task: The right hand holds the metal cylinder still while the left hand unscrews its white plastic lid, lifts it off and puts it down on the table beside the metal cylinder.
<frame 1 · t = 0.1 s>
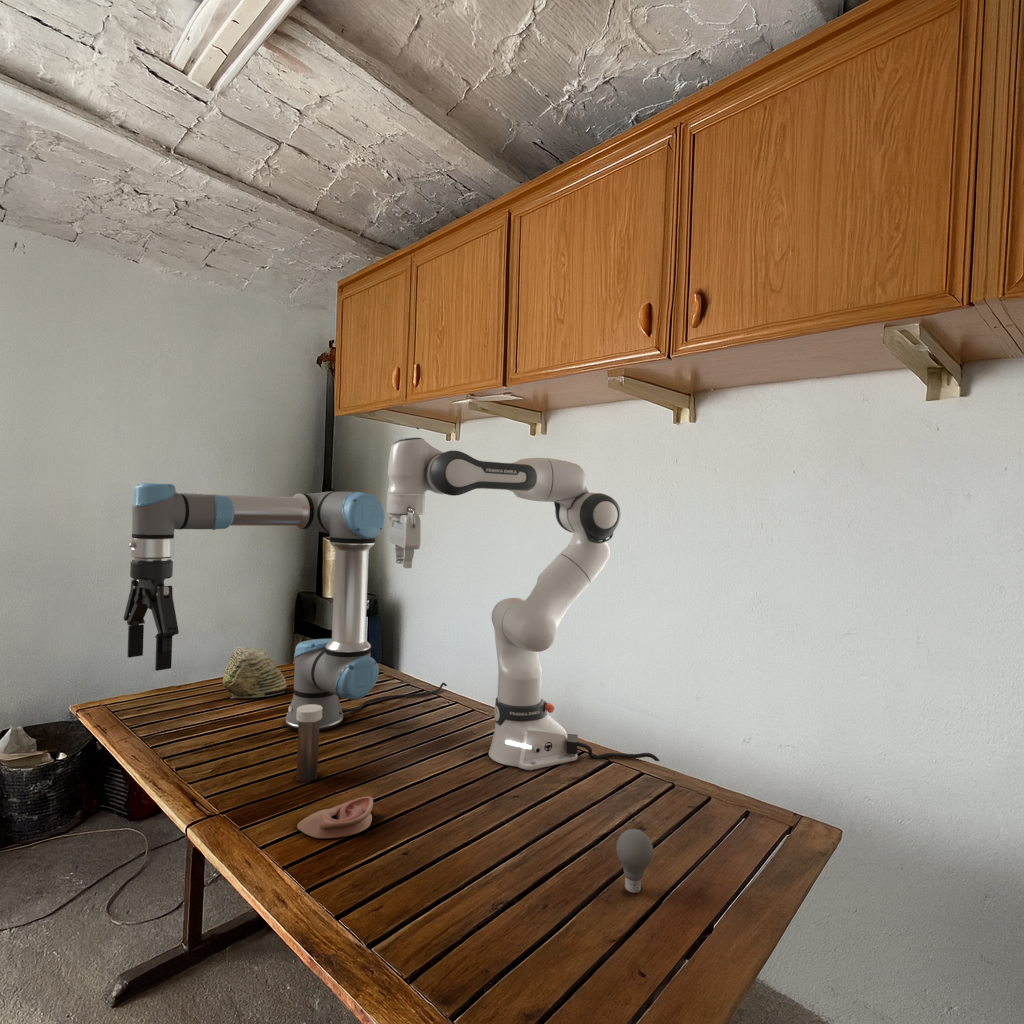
left hand: (148, 662, 129), 28 cm above the table, tool pointing down, fingers open, 13 cm apart
right hand: (403, 565, 148), 48 cm above the table, tool pointing down, fingers open, 8 cm apart
lid: (309, 709, 142), point 15 cm above the table, screwed on, not yet turned
metal cylinder: (307, 777, 142), on the table
light bulb: (632, 891, 106), on the table
fossil: (254, 694, 198), on the table
anatomical model: (335, 825, 123), on the table
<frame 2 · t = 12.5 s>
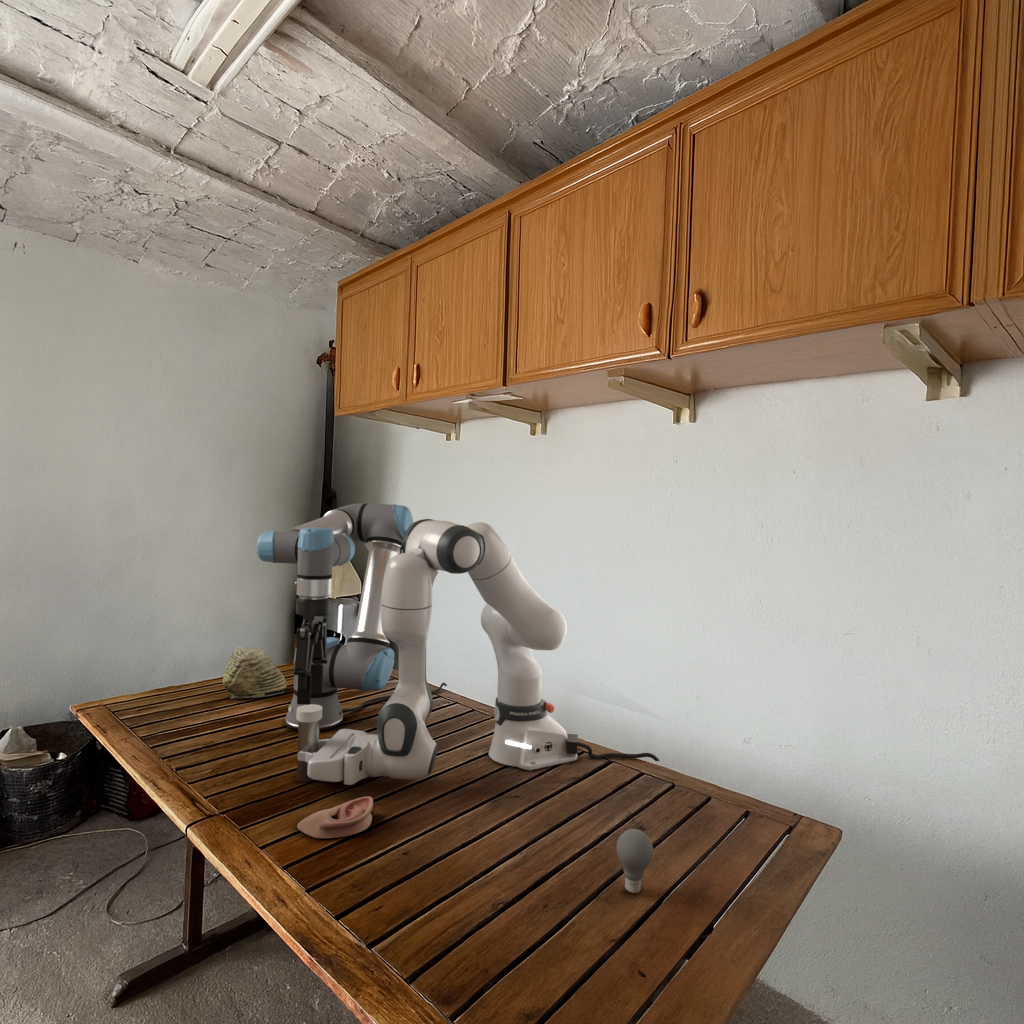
left hand: (310, 698, 142), 18 cm above the table, tool pointing down, fingers open, 7 cm apart
right hand: (304, 749, 142), 6 cm above the table, tool horizontal, fingers closed on metal cylinder, 4 cm apart
metal cylinder: (307, 777, 142), on the table, touching right hand
everything else where it was.
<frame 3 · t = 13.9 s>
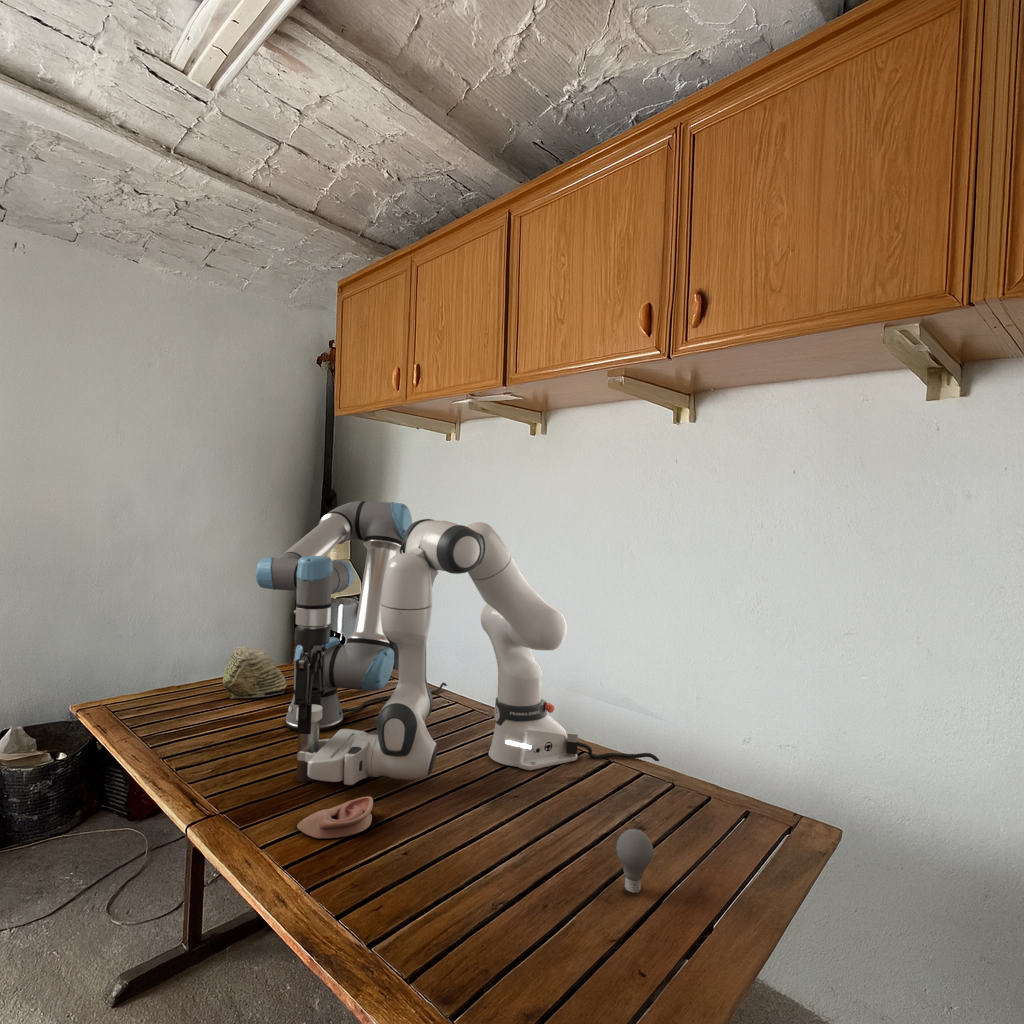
left hand: (308, 728, 142), 11 cm above the table, tool pointing down, fingers closed on lid, 5 cm apart
right hand: (304, 749, 142), 6 cm above the table, tool horizontal, fingers closed on metal cylinder, 4 cm apart
lid: (309, 709, 142), point 15 cm above the table, screwed on, not yet turned, touching left hand
metal cylinder: (307, 777, 142), on the table, touching right hand
everything else where it was.
when the left hand's fingers open (11 cm above the table, at t = 15.4 s): lid stays where it is, point 16 cm above the table.
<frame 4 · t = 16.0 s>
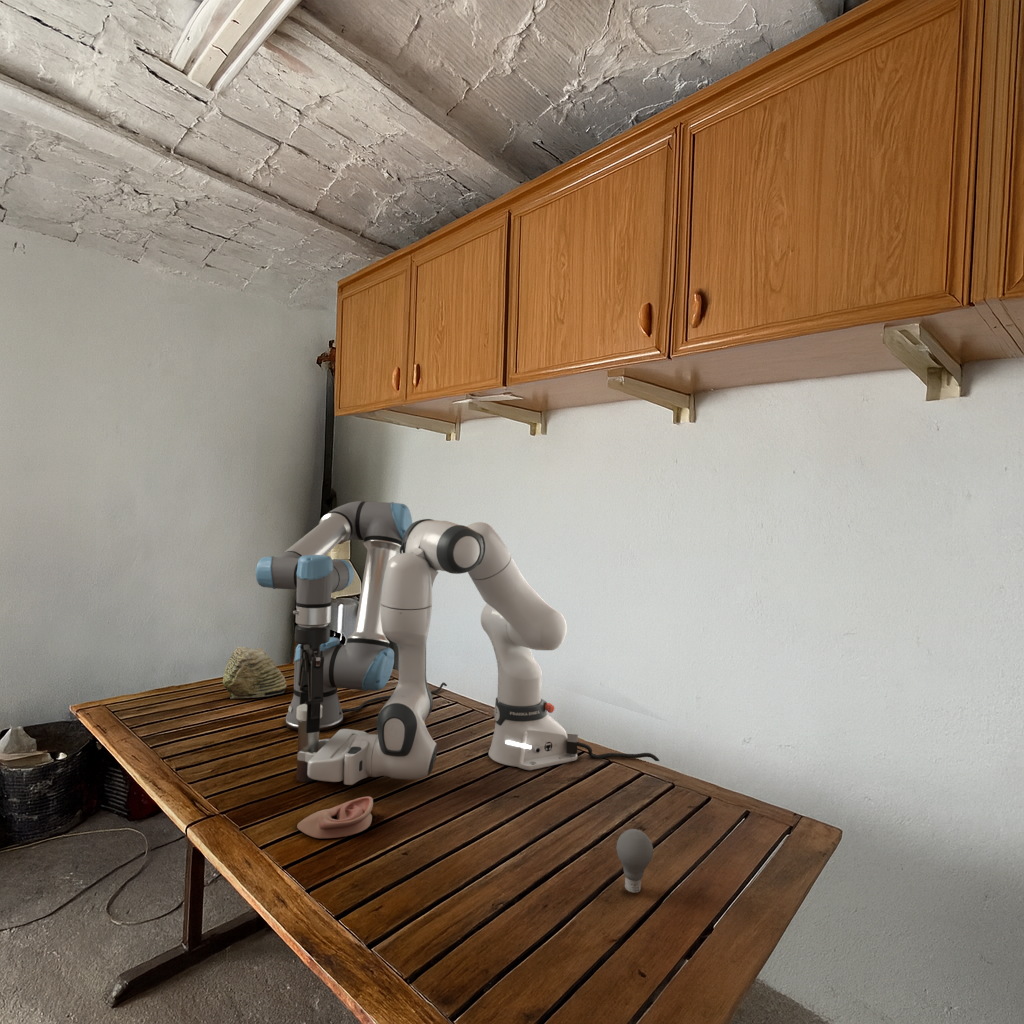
left hand: (308, 725, 142), 12 cm above the table, tool pointing down, fingers open, 7 cm apart
right hand: (304, 749, 142), 6 cm above the table, tool horizontal, fingers closed on metal cylinder, 4 cm apart
lid: (309, 708, 142), point 16 cm above the table, turned 90° so far, risen 0.3 cm, still on its thread
metal cylinder: (306, 777, 142), on the table, touching right hand
everything else where it was.
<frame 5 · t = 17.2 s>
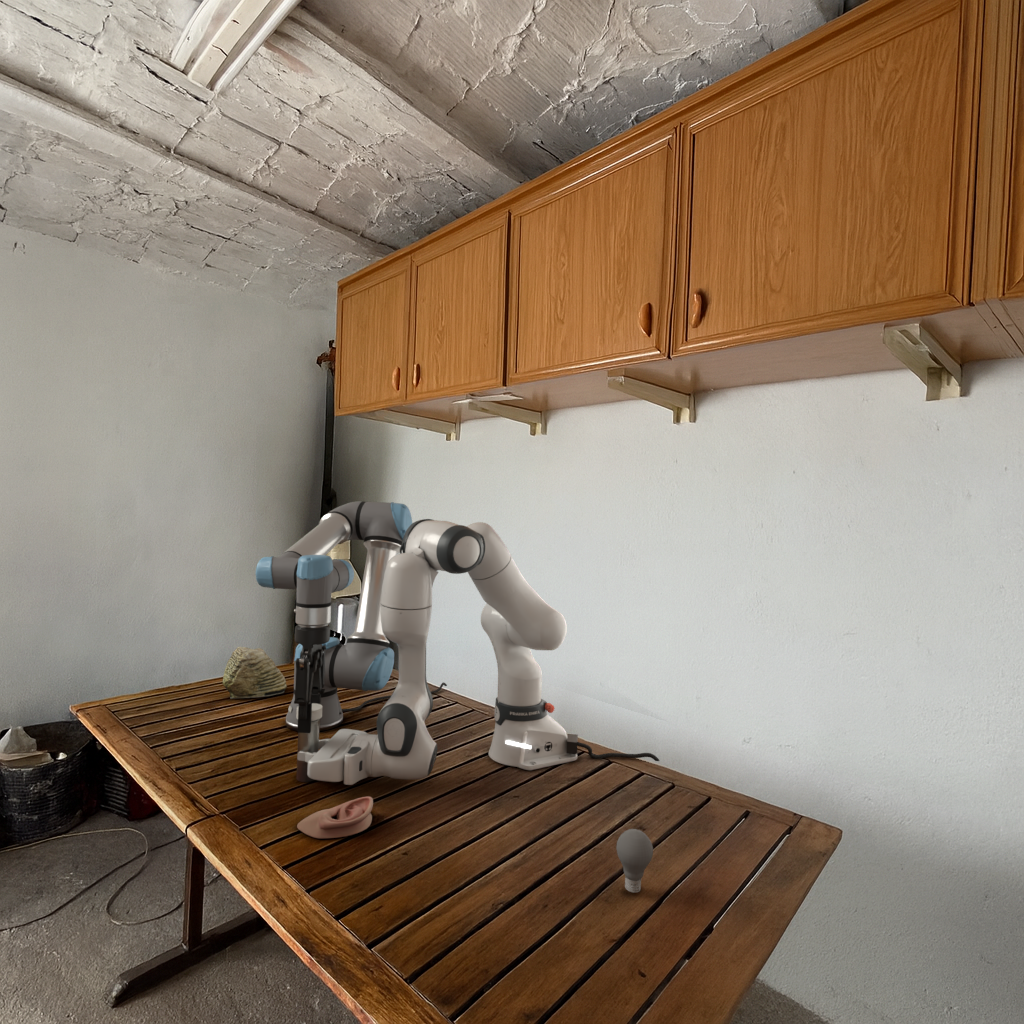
left hand: (308, 727, 142), 11 cm above the table, tool pointing down, fingers closed on lid, 5 cm apart
right hand: (304, 749, 142), 6 cm above the table, tool horizontal, fingers closed on metal cylinder, 4 cm apart
lid: (309, 708, 142), point 16 cm above the table, turned 90° so far, risen 0.3 cm, still on its thread, touching left hand
metal cylinder: (306, 777, 142), on the table, touching right hand
everything else where it was.
when the left hand's fingers open (0 cm above the table, at t = 23.7 s): lid drops 2 cm, point 2 cm above the table.
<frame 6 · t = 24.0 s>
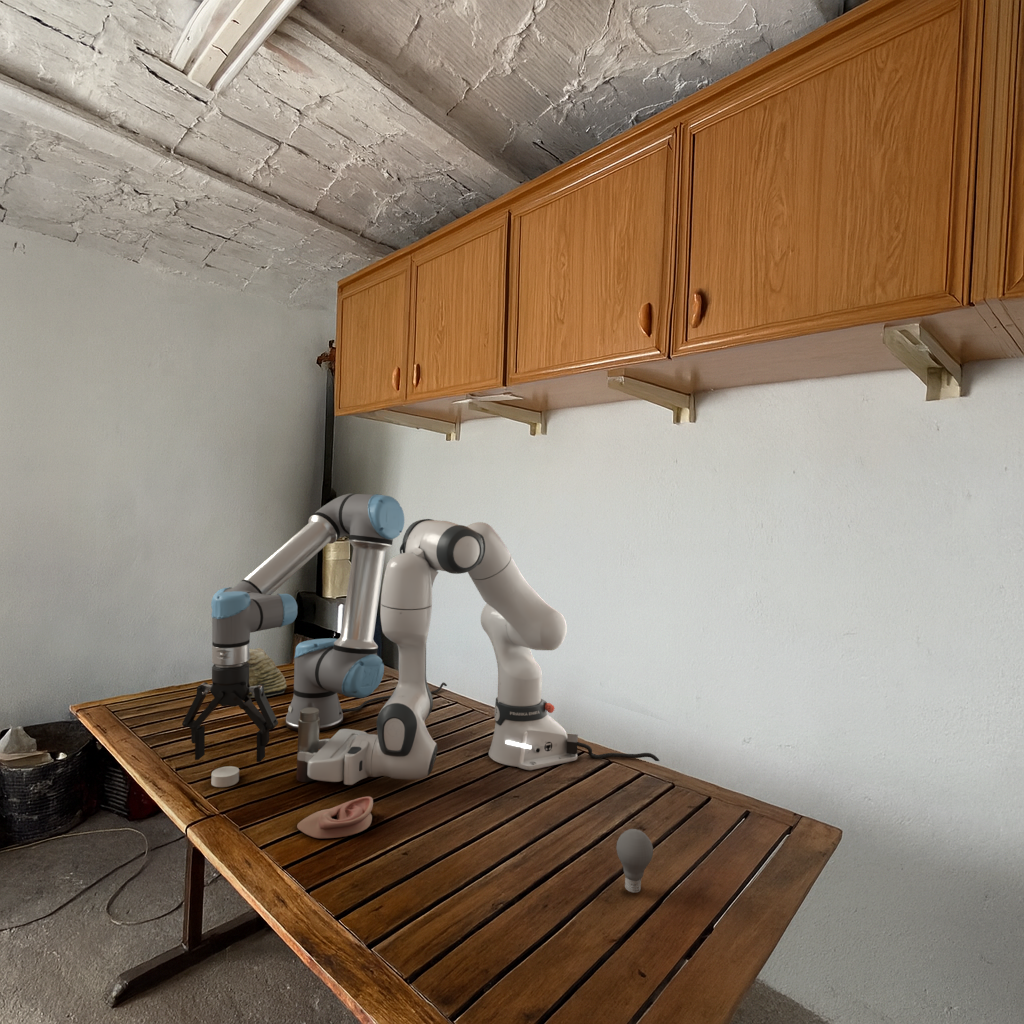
left hand: (230, 758, 140), 5 cm above the table, tool pointing down, fingers open, 13 cm apart
right hand: (304, 749, 142), 6 cm above the table, tool horizontal, fingers closed on metal cylinder, 4 cm apart
lid: (225, 773, 139), point 2 cm above the table, off its thread
metal cylinder: (306, 777, 142), on the table, touching right hand
everything else where it was.
when the right hand's fingers open (6 cm above the table, at t = 24.4 s): metal cylinder stays where it is, on the table.
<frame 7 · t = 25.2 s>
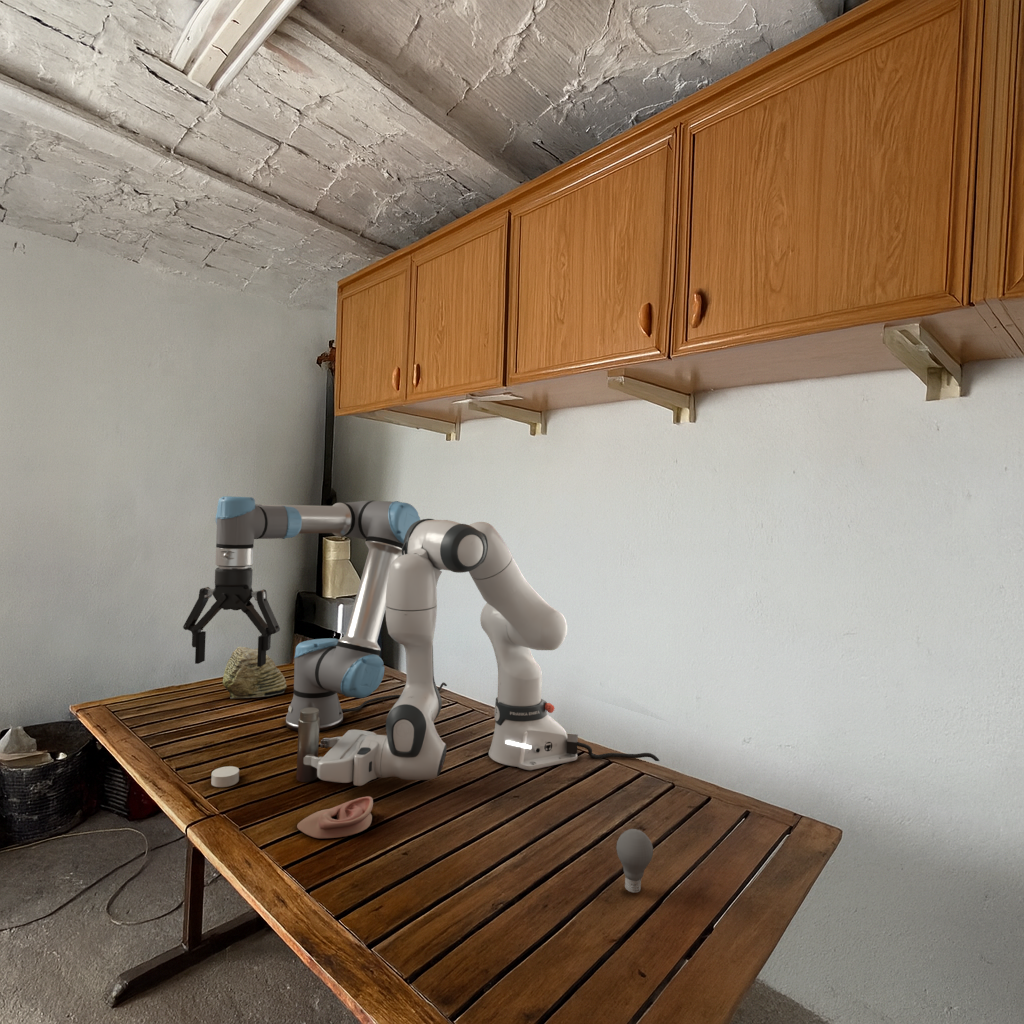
left hand: (230, 663, 139), 26 cm above the table, tool pointing down, fingers open, 13 cm apart
right hand: (313, 750, 142), 6 cm above the table, tool horizontal, fingers open, 8 cm apart
metal cylinder: (306, 777, 142), on the table
everything else where it was.
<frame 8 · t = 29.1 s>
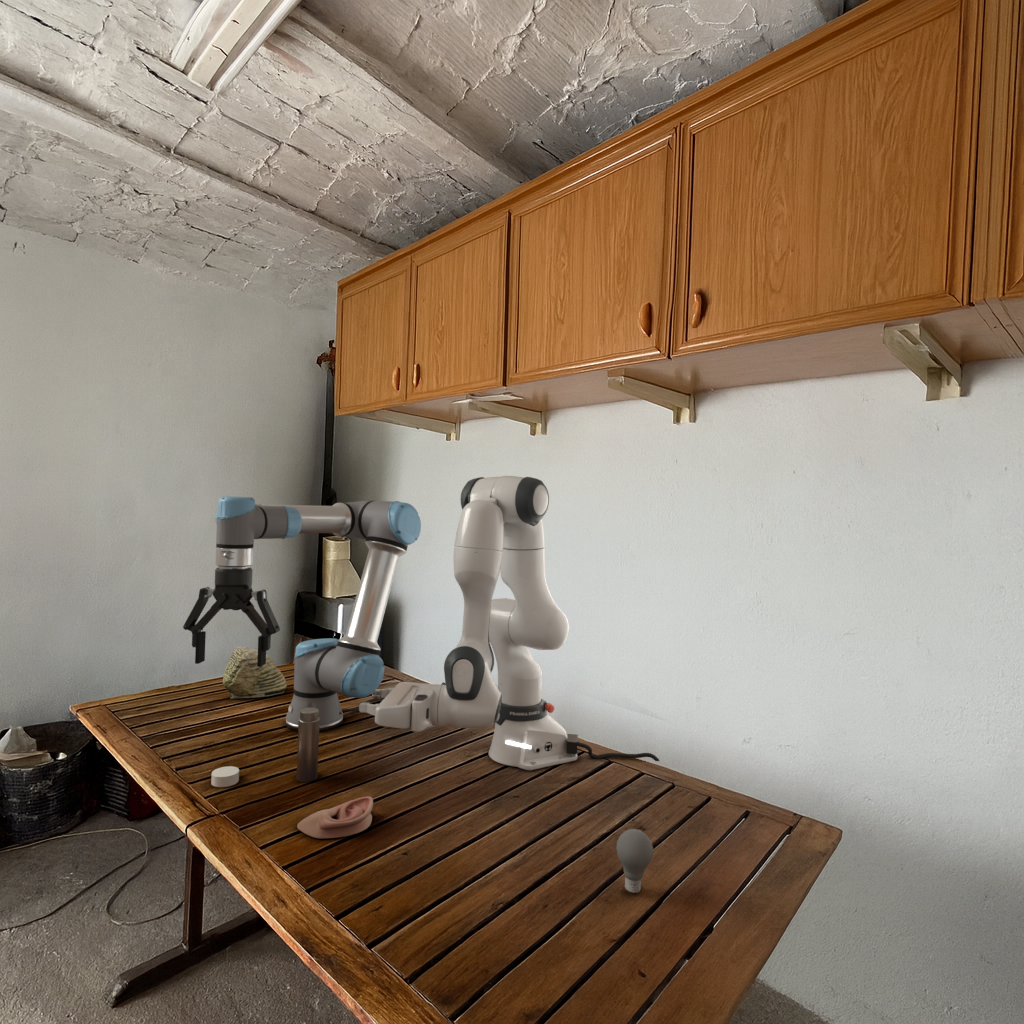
left hand: (230, 663, 139), 26 cm above the table, tool pointing down, fingers open, 13 cm apart
right hand: (367, 699, 141), 19 cm above the table, tool horizontal, fingers open, 8 cm apart
nothing on the table moved.
at the end: lid came off its thread; lid point 1.9 cm above the table; the left hand is holding nothing; the right hand is holding nothing; metal cylinder tilted 0°; metal cylinder moved 0.0 cm from its start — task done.
